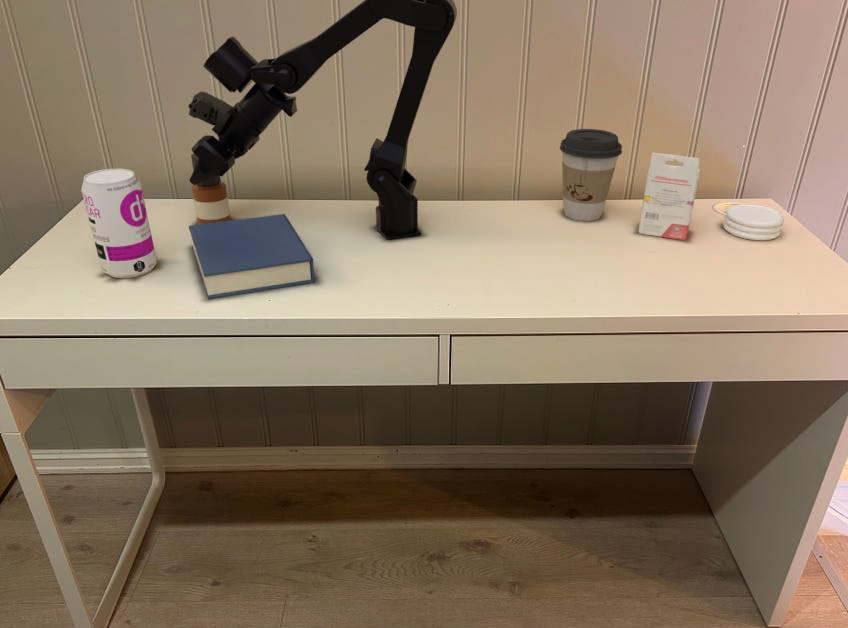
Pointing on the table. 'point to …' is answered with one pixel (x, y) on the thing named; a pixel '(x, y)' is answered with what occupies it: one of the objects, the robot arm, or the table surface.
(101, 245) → the supplement can
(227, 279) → the book
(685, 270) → the table surface
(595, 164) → the coffee cup
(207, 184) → the cap
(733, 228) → the white layered disc
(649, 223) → the ink cartridge box
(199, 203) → the brown striped cylinder
